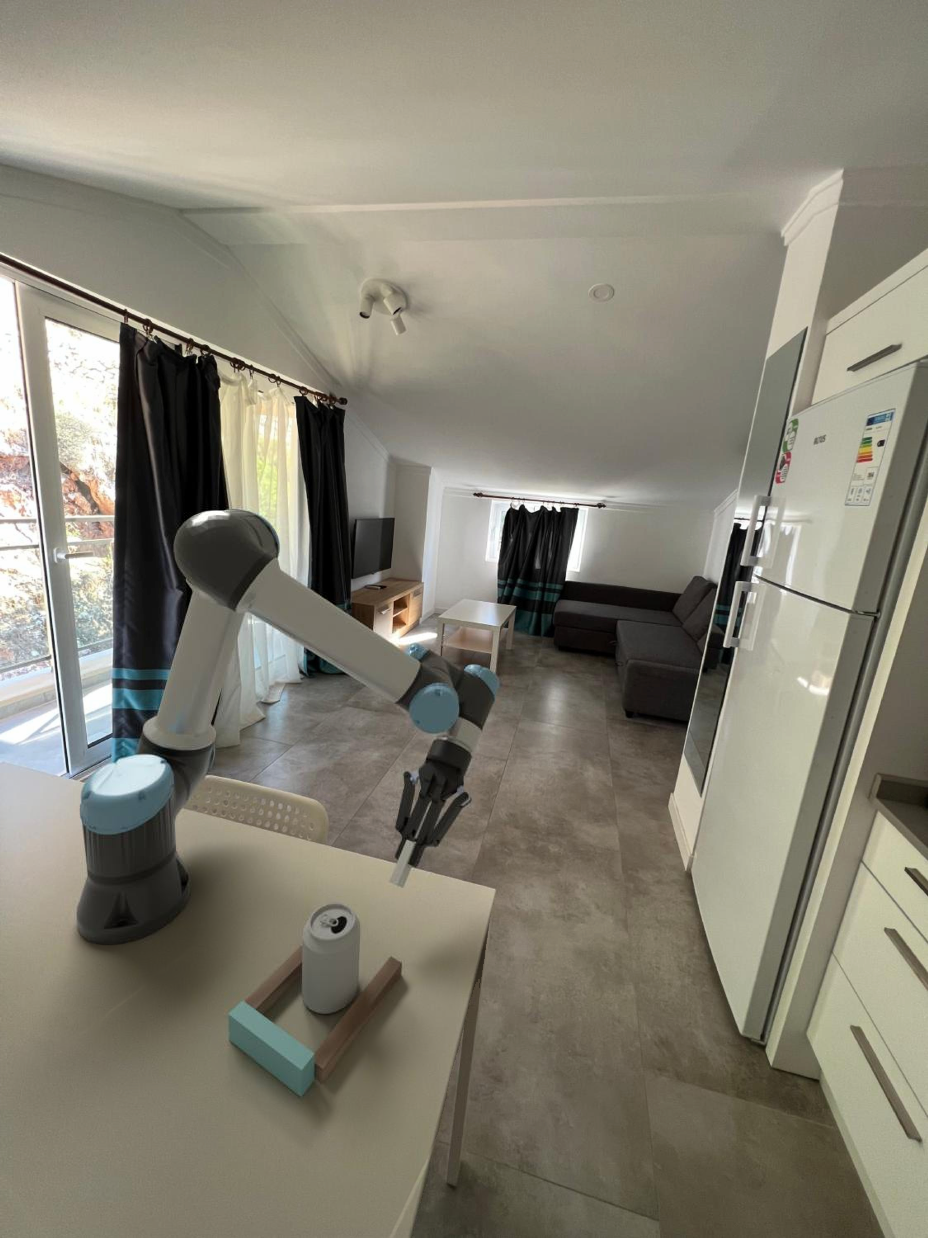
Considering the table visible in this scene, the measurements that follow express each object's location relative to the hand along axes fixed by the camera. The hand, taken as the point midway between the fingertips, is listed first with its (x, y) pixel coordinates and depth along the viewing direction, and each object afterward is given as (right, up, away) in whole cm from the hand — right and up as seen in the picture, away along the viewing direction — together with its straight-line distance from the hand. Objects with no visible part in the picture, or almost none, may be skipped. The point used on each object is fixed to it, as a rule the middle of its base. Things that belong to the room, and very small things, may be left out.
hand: (396, 884), depth 78 cm
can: (-8, -10, -10) cm, 16 cm away
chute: (-8, -10, -11) cm, 17 cm away
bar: (-13, -11, -19) cm, 25 cm away
